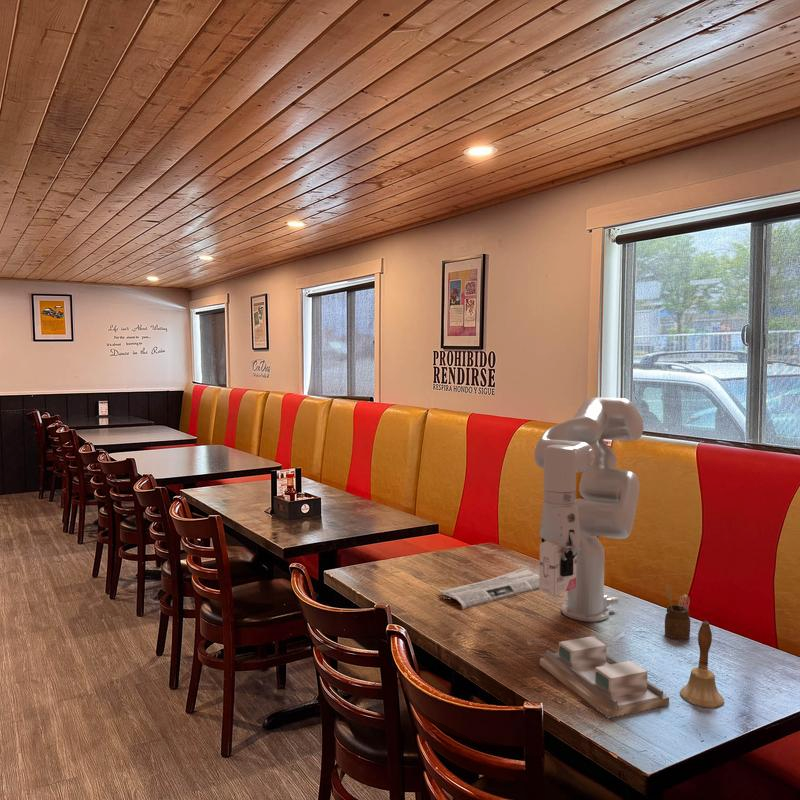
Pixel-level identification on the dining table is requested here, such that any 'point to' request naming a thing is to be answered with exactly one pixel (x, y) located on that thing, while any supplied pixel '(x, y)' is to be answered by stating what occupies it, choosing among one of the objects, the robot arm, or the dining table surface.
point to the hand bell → (702, 676)
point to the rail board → (603, 678)
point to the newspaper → (493, 588)
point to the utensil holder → (677, 619)
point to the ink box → (554, 570)
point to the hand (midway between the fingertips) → (558, 570)
